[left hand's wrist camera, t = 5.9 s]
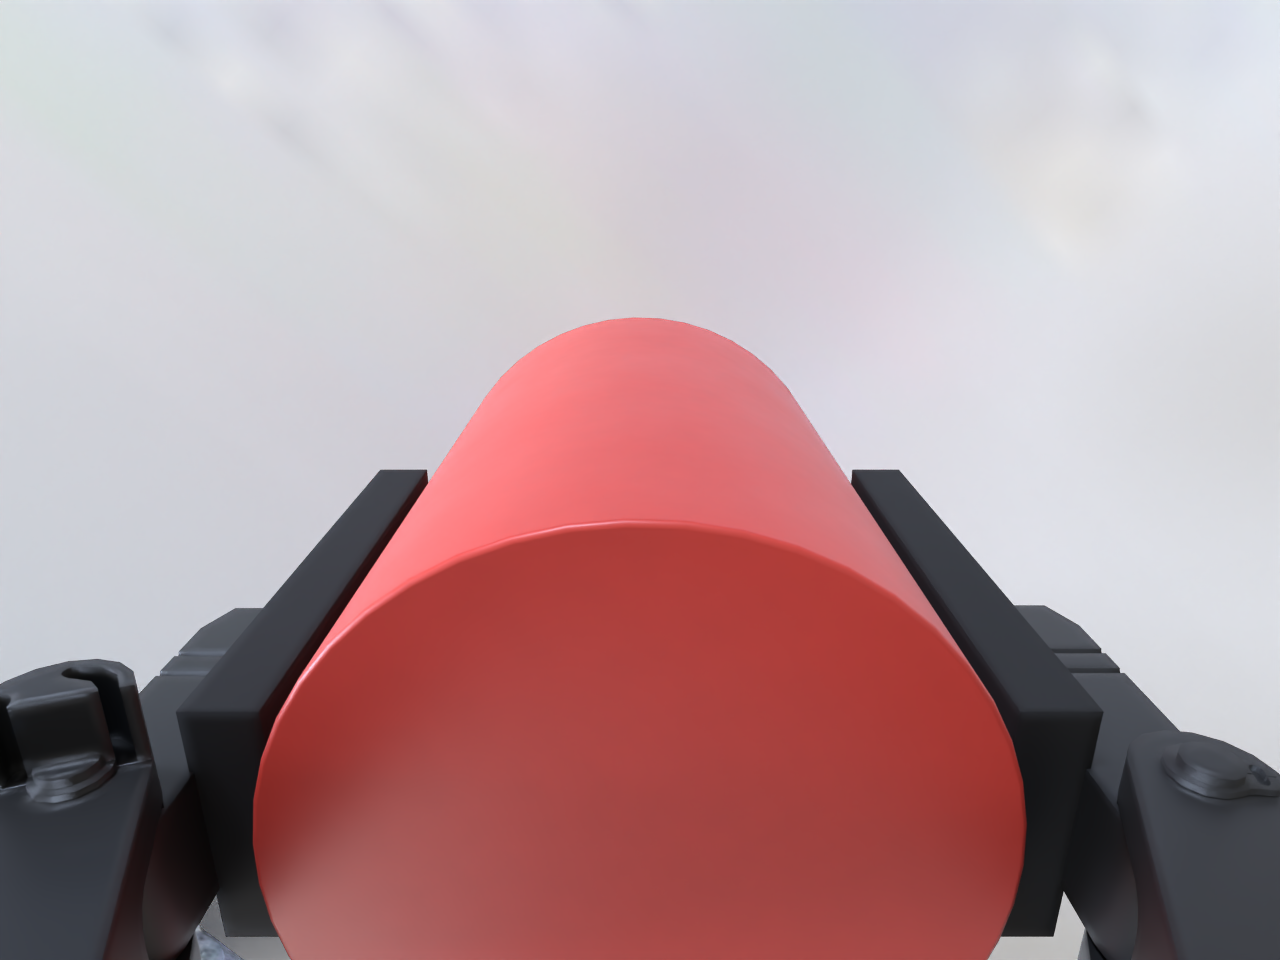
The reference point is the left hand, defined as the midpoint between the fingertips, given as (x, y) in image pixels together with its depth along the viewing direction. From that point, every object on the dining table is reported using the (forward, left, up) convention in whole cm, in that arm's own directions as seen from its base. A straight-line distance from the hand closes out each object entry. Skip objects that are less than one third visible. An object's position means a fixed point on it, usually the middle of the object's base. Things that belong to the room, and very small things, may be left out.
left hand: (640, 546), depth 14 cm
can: (0, 0, -2) cm, 2 cm away
